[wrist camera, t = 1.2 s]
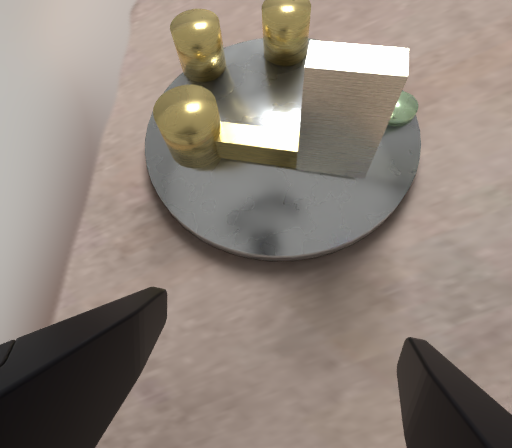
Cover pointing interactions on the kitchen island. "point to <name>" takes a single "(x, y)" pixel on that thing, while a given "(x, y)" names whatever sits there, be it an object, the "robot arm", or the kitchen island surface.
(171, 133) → the lever
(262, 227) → the base
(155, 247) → the kitchen island surface
